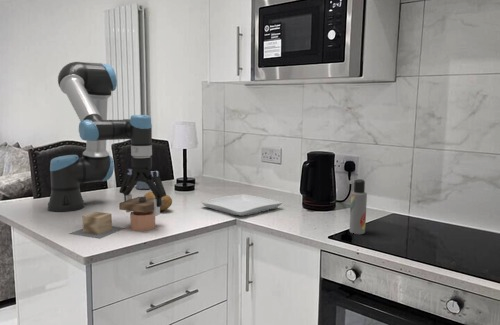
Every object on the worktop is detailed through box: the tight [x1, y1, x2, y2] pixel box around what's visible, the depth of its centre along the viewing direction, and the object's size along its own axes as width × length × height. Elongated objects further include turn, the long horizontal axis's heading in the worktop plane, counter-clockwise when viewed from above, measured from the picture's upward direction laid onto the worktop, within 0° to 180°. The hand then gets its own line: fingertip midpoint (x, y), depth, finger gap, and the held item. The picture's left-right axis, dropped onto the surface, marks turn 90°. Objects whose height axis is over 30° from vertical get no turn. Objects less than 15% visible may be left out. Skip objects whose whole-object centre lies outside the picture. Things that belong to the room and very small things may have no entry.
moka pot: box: [135, 156, 153, 190], centre depth 235 cm, size 10×15×20 cm, turn 40°
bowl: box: [129, 211, 157, 231], centre depth 161 cm, size 9×9×6 cm
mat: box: [68, 225, 126, 240], centre depth 156 cm, size 14×14×1 cm
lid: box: [118, 196, 165, 213], centre depth 160 cm, size 12×12×4 cm
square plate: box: [200, 193, 283, 217], centre depth 194 cm, size 27×27×4 cm
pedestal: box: [82, 211, 113, 235], centre depth 155 cm, size 7×7×6 cm
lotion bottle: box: [349, 178, 368, 235], centre depth 158 cm, size 6×6×20 cm
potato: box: [143, 191, 173, 212], centre depth 187 cm, size 10×14×8 cm
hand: (142, 213), depth 161 cm, fingers closed on lid, 12 cm apart
